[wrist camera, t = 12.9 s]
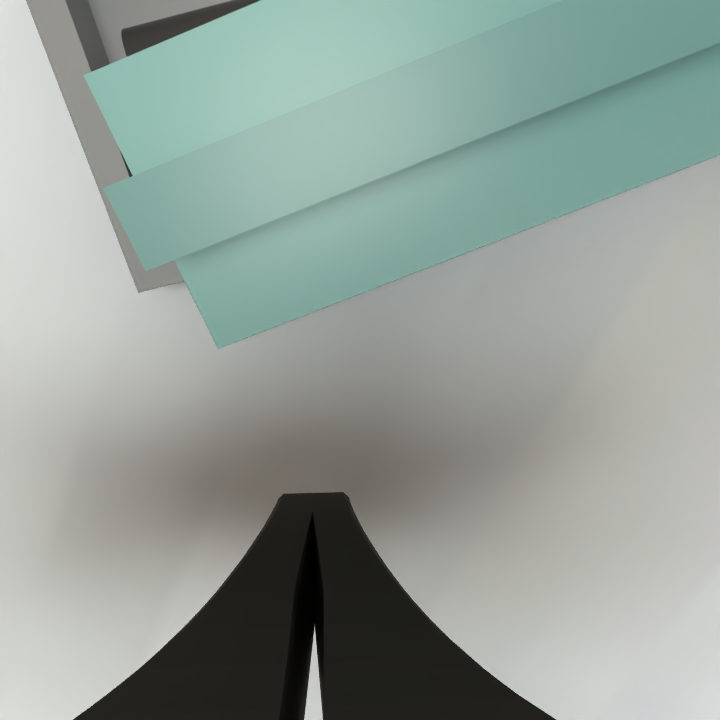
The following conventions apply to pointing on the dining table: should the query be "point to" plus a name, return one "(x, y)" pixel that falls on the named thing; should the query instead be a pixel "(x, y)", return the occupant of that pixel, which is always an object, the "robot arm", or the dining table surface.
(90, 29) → the grey open box
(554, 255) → the dining table surface
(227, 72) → the cover
